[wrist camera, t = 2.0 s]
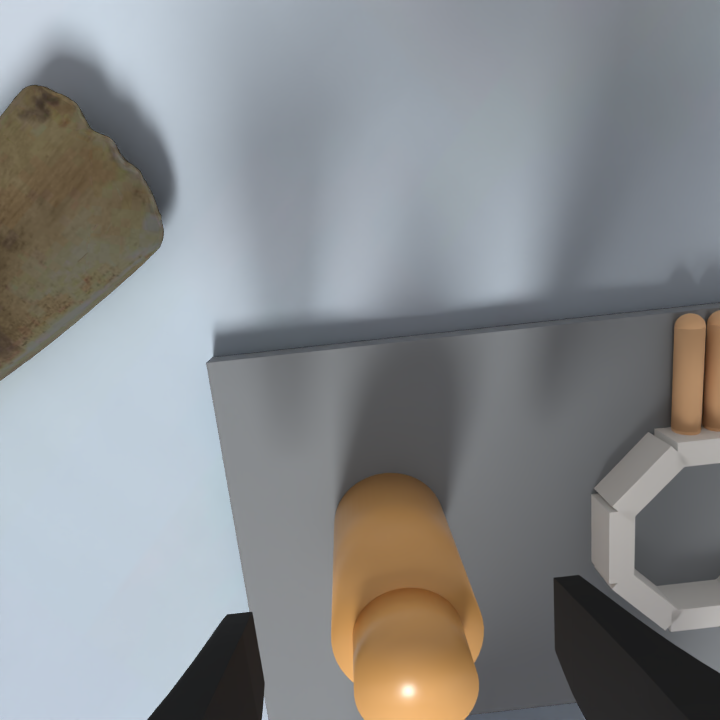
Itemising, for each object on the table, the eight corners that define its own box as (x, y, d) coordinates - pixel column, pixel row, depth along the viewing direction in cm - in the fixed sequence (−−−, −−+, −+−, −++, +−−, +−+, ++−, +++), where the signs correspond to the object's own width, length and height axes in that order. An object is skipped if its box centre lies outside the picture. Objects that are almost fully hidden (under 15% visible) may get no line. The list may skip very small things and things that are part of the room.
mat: (798, 657, 20) (847, 703, 18) (274, 717, 20) (266, 770, 18) (835, 289, 17) (901, 296, 15) (212, 357, 16) (195, 373, 15)
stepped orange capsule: (447, 565, 18) (506, 748, 11) (340, 577, 18) (339, 768, 11) (439, 466, 17) (499, 604, 10) (328, 479, 17) (319, 624, 10)
